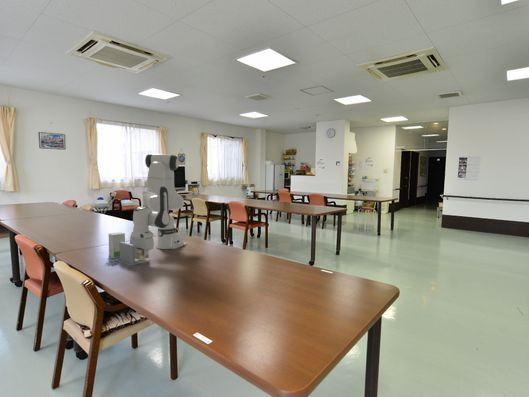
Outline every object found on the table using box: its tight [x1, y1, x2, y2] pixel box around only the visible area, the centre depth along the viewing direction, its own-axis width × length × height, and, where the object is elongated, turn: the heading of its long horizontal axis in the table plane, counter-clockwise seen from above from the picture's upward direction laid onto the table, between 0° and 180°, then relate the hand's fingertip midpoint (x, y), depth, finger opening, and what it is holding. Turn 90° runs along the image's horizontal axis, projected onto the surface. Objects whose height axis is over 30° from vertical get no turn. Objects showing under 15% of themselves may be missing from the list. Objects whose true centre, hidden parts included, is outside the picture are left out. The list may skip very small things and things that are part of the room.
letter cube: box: [135, 248, 150, 260], centre depth 181 cm, size 6×6×6 cm
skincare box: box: [108, 231, 126, 259], centre depth 190 cm, size 8×7×16 cm
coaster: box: [135, 258, 150, 264], centre depth 182 cm, size 7×7×1 cm
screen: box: [116, 241, 139, 267], centre depth 178 cm, size 5×15×12 cm, turn 56°
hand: (141, 254), depth 182 cm, fingers closed on letter cube, 6 cm apart
